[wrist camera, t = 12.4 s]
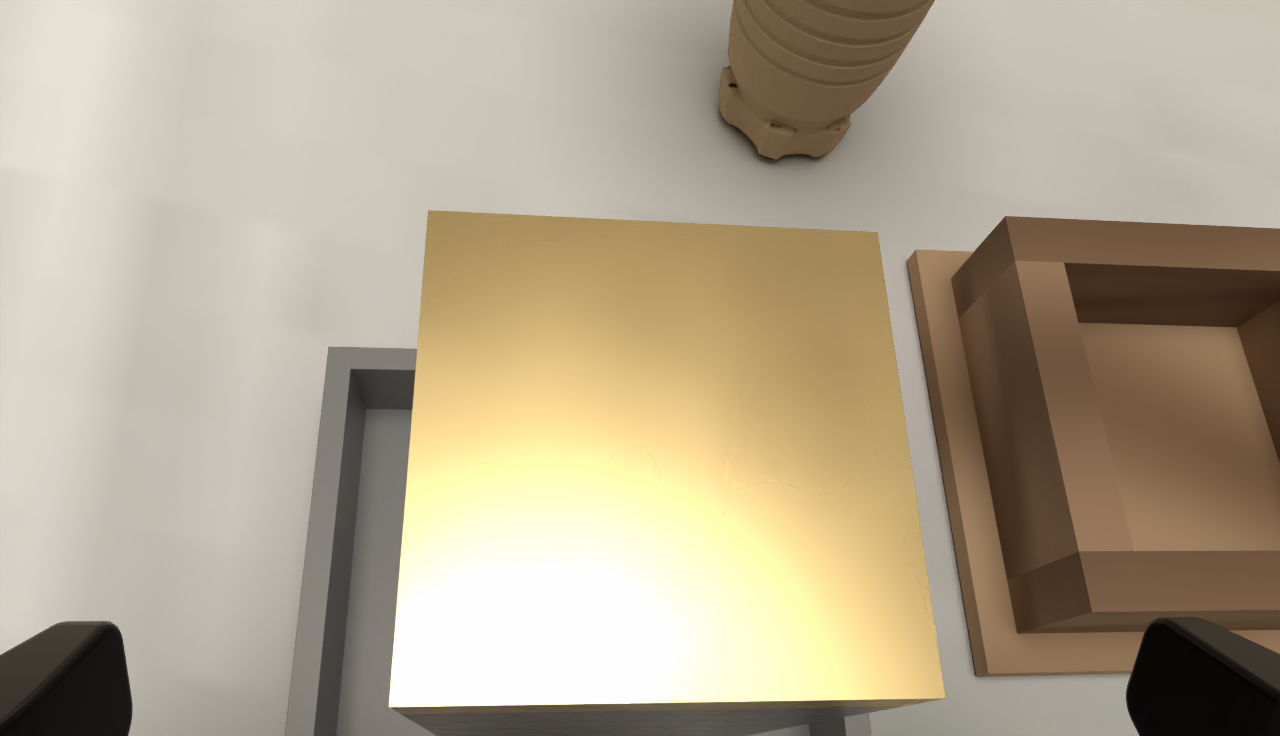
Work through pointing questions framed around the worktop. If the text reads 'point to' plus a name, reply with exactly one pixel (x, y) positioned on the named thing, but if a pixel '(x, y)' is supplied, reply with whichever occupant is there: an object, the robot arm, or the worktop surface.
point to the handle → (809, 67)
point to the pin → (656, 484)
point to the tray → (372, 556)
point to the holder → (1106, 434)
